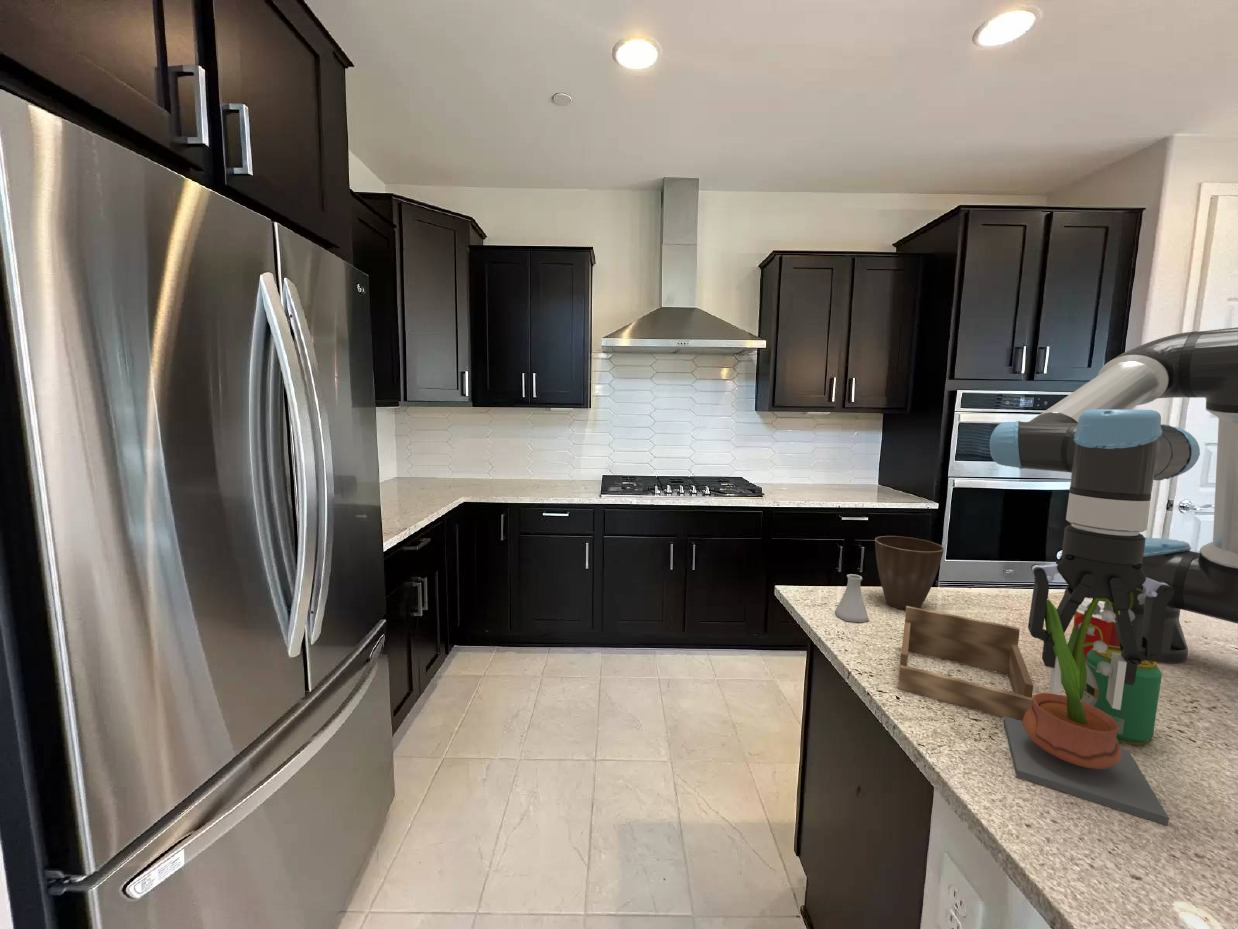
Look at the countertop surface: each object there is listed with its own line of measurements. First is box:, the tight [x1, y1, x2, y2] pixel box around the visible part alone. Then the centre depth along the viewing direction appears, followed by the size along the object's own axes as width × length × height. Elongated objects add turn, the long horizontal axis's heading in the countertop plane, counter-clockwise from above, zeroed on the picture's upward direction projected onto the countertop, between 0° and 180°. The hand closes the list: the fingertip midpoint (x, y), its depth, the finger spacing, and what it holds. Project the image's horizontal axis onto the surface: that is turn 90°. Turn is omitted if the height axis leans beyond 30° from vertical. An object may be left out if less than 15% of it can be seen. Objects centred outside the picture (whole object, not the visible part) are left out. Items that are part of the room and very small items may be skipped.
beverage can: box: [1080, 645, 1163, 746], centre depth 75 cm, size 8×8×12 cm
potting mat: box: [1002, 716, 1170, 826], centre depth 67 cm, size 14×14×1 cm
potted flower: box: [1022, 588, 1146, 769], centre depth 66 cm, size 12×10×25 cm
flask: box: [834, 573, 870, 624], centre depth 116 cm, size 7×7×10 cm
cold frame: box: [897, 606, 1034, 721], centre depth 88 cm, size 18×18×9 cm
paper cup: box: [1073, 598, 1120, 664], centre depth 90 cm, size 8×8×14 cm
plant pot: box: [874, 535, 945, 610], centre depth 123 cm, size 15×15×16 cm
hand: (1083, 696), depth 66 cm, fingers open, 5 cm apart
